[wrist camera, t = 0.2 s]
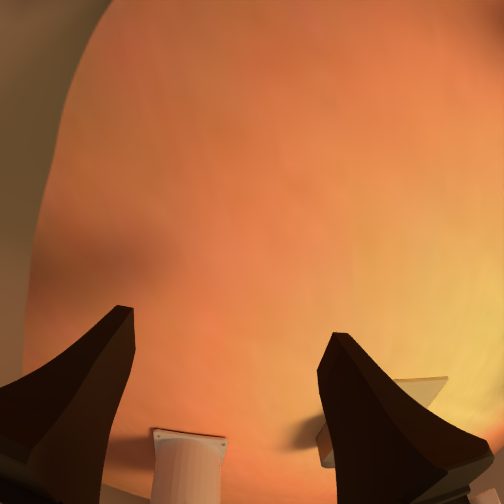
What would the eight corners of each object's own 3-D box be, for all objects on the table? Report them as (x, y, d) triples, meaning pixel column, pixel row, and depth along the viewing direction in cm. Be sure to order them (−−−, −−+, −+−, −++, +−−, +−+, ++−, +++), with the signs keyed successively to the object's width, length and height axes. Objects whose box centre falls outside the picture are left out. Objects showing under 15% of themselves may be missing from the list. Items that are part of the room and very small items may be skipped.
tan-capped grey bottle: (339, 443, 33) (345, 466, 29) (312, 444, 32) (316, 469, 29) (372, 396, 29) (382, 423, 25) (341, 397, 28) (349, 426, 25)
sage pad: (402, 434, 33) (403, 436, 33) (347, 439, 32) (348, 442, 32) (447, 376, 28) (448, 379, 28) (389, 379, 28) (390, 382, 27)
